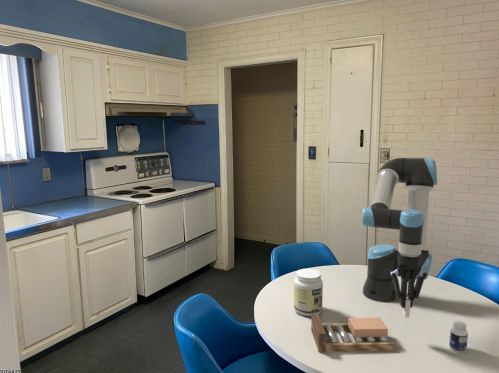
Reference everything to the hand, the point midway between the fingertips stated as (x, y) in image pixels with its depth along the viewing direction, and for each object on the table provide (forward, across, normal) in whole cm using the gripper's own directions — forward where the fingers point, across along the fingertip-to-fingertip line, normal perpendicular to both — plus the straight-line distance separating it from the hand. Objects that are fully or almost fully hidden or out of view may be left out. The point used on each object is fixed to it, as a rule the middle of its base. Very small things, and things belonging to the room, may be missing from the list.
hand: (405, 315), depth 139 cm
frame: (+10, +19, 0) cm, 22 cm away
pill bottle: (+10, -16, +6) cm, 20 cm away
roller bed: (+8, +18, 0) cm, 20 cm away
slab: (+6, +14, 0) cm, 15 cm away
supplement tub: (+10, +32, -24) cm, 41 cm away
